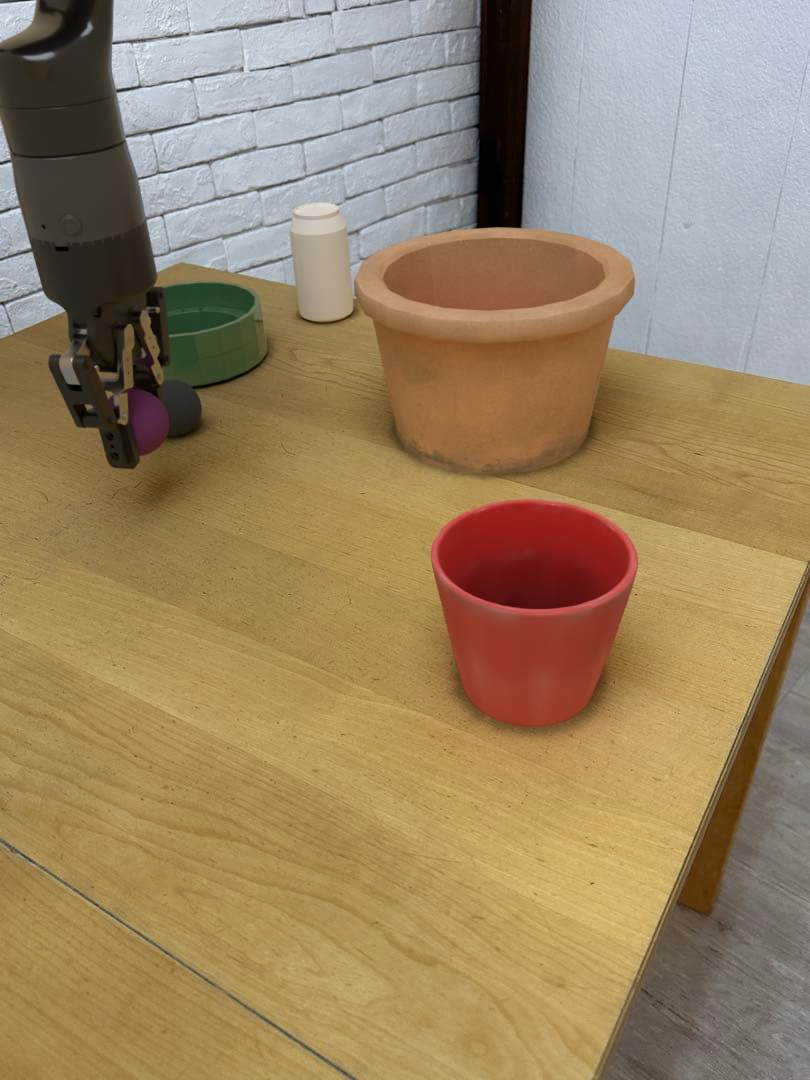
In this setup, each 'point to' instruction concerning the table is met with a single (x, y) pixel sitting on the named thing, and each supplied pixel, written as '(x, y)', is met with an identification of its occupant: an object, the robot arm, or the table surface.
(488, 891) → the table surface
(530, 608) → the flower pot
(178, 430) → the grey ball
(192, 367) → the green bowl
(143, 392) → the plum ball
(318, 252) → the beverage can
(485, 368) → the pottery
